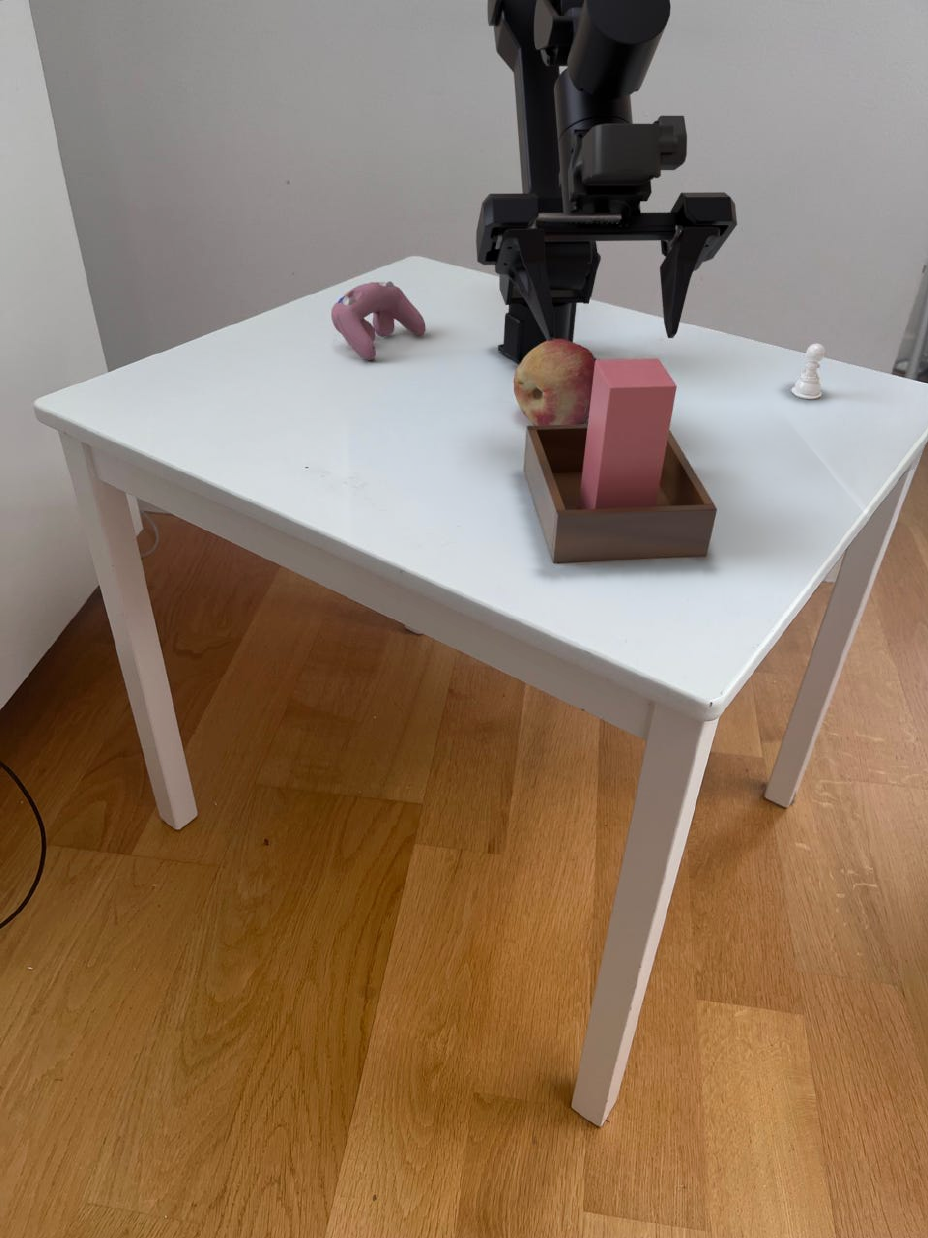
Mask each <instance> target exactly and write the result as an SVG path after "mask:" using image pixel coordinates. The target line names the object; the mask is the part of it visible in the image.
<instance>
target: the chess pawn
mask: <svg viewBox="0 0 928 1238" xmlns="http://www.w3.org/2000/svg"><path fill="white" fill-rule="evenodd" d="M805 355H806V358H807V359H808V360H809V361H807V362H805V363H804V366H805V367H806V368H805V369H806V370H804V371H803V372H802V373H801V374H800V377H799V379H798V380H796V382H795V384H794V386H792V388H791V392H792V393H793V395H794V396H795V397H798V398H800V399H805V400H815V399H818V398H820V397H821V396H822V394H823V393H822V391H821V390H822V388H821V387H822V385H821V383H820V376H819V374H818V372H817V371H818V369H820V368H821V365H820V363H819V362H820V361H822V360H823V359H824V357H825V355H826V348H825V346H824V345H823V344H821V343H817V342H816V343H812V344H810V345H809V346H808V347H807V349H806V352H805Z"/></svg>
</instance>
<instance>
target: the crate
mask: <svg viewBox="0 0 928 1238" xmlns="http://www.w3.org/2000/svg"><path fill="white" fill-rule="evenodd" d="M525 427H526V429H525V442H524V455H523V456H524V457H523V468H522V469H523V474H524V476H525V480H526V484H527V486H528V487H527V488H528V490H529V493H530V495H531V499H532V502H533V505H534V508H535V512H536V516H537V518H538V521H539V524H540V527H541V530H542V533H543V536H544V540H545V543H546V546H547V549H548V553H549V555H550V558H551V562H552V564H569V563H570V564H572V563H574V564H575V563H592V562H593V563H594V562H615V561H636V560H659V559H661V560H662V559H679V558H680V559H683V558H701V557H702V558H703V557H707V556H708V553H709V547H710V544H711V540H712V539H711V538H712V534H713V530H714V525H715V520H716V516H717V511H718V508H717V506H716V505H715V503H714V501H713V499H712V498H711V496H710V494H709V493H708V491H707V489H706V488H705V486H704V484H703V483H702V481H701V479H700V478H699V476H698V474H697V473H696V471H695V470H694V468H693V466H692V465H691V463H690V461H689V459H688V458H687V456H686V454H685V453H684V452H683V450H682V448H681V446H680V445H679V443H678V441H677V440H676V438H675V436H674V435H673V433H672V432H671V430H670V429H669V434H668V439H667V445H666V451H665V456H664V462H663V468H662V474H661V479H660V485H659V491H658V497H657V502H656V507H631V508H606V509H580V508H579V498H580V489H581V480H582V472H583V463H584V454H585V445H586V437H587V428H588V423H580V424H574V425H541V426H535V425H526V426H525Z"/></svg>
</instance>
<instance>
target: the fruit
mask: <svg viewBox="0 0 928 1238" xmlns="http://www.w3.org/2000/svg"><path fill="white" fill-rule="evenodd" d="M596 360H597V358H596V357H595V356H594V354H593V353H592V351H590V350H589V349H588V348H587V347H585V346H582V345H580V344H578V343H575V342H574V341H573V342H571V341H568V340H566V339H553V340H552V341H545V342H544V343H542V344H540V345H539V346H537V347H535V348H534V349H533V350H531V351H530V352H529V353H528V354H527V355H526V356H525V357H524V359H523V360H522V362H521V363H520V365H519V364H518V366H517V368H516V370H515V372H514V377H513V392H514V396H515V400H516V402H517V405H518V407H519V409H520V410H521V412H522V414H523V415H524V416H525V417H526V418H527V420H528V421H529V422H530V423H531V424H532V425H533V426H541V425H574V424H583V422H585V421H586V420H587V419H589V411H590V402H591V393H592V385H593V376H594V367H595V361H596Z"/></svg>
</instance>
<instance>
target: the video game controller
mask: <svg viewBox="0 0 928 1238" xmlns="http://www.w3.org/2000/svg"><path fill="white" fill-rule="evenodd" d="M371 314H372V315H373V316H372V323H371V322H370V321H369V320H367V319H365V318H366V317H368V316H370V315H371ZM330 317H331V321H332V324H333V326H334V328H335V330H336V331H338V333H340V334H341V336H342V337H343V339H344V340H345V341H346V343H347V344H348V345H349V347H350V348H351V349H352V350H353V352H355V353H356V354H357V355H358V356H360V357H361V358H363V359H365V360H366V361H372V360H374V359H375V357H376V355H377V354H376V350H377V349H376V346H375V343H374V342H375V340H376V336H378V337H380V338H386V337H388V336H391V335H392V334H393V333H394V332H395V320H396V321H397V322H398V323H399V324H401V325H402V326H403V327H404V328H405V329H406V330H407V331H409V332H410V333H412V334H414V335H417V336H423V335H424V334H425V333H426V329H427V328H426V322H425V319H424V317H423V315H422V314H421V312H420V311H419V310H418V309H417V308H416V306H415V305H414V304H413V303H412V302H411V301H410V300H409V298H408V297H407V296H406V294H405V293H404V292H403V290H402V289H401V288H400V287H398V286H396V285H395V284H394V282H393V281H387V282H386V281H379V282H378V281H376V282H375V281H371V282H368V283H362V284H360V285H358V286H356V287H353V288H352V289H350V290H349V291H347V292H346V293H344V295H343V296H342V297H340V298H339V299H338V301H336V302H335V303H334V305H333V306H332V307H331V311H330Z"/></svg>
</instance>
